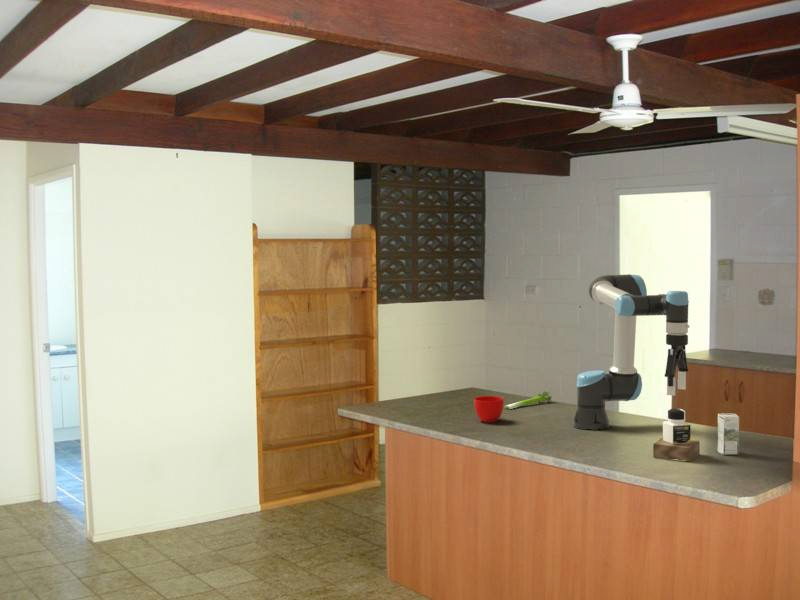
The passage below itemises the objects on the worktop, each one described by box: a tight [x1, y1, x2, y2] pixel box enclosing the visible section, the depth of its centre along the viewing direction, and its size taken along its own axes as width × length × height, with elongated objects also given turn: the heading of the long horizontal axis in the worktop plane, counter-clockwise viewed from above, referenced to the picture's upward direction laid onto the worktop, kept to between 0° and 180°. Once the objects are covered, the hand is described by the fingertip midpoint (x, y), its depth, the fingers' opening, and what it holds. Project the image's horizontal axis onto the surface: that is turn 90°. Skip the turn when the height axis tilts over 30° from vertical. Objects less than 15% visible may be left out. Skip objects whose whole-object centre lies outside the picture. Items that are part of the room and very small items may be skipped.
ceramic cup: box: [473, 395, 505, 423], centre depth 378 cm, size 13×17×10 cm
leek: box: [503, 391, 553, 410], centre depth 411 cm, size 6×7×30 cm
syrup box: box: [716, 412, 740, 456], centre depth 312 cm, size 6×6×14 cm
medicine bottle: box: [662, 408, 691, 445], centre depth 309 cm, size 7×7×12 cm
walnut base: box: [652, 437, 701, 462], centre depth 309 cm, size 13×13×5 cm
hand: (676, 392), depth 308 cm, fingers open, 13 cm apart
